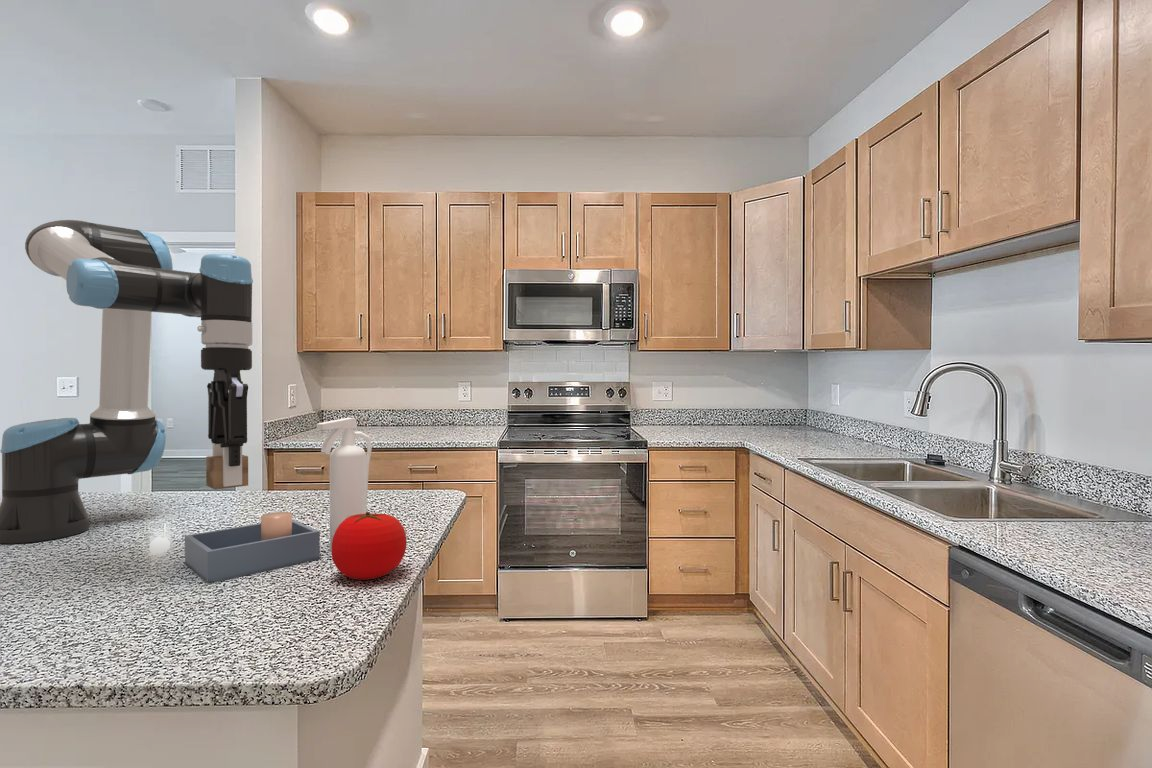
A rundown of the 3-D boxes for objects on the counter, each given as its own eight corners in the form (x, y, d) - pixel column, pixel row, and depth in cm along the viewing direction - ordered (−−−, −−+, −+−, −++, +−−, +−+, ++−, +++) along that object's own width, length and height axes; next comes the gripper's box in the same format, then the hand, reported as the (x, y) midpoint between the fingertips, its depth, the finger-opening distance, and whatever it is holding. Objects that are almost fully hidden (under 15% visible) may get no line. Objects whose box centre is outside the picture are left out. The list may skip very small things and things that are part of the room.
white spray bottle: (391, 542, 116) (386, 415, 116) (334, 559, 107) (327, 421, 106) (371, 537, 121) (366, 414, 120) (314, 553, 111) (308, 420, 110)
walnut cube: (206, 485, 101) (206, 456, 101) (238, 482, 105) (238, 453, 105) (215, 489, 98) (215, 459, 98) (248, 485, 101) (248, 456, 101)
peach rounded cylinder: (256, 553, 107) (256, 515, 107) (285, 547, 111) (285, 510, 111) (267, 559, 104) (266, 519, 104) (296, 553, 108) (296, 515, 107)
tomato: (322, 572, 99) (322, 510, 99) (391, 559, 106) (391, 501, 106) (343, 593, 90) (344, 524, 90) (417, 577, 97) (417, 514, 97)
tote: (184, 564, 103) (184, 535, 103) (289, 544, 116) (289, 518, 116) (207, 583, 94) (207, 551, 93) (319, 559, 106) (319, 531, 106)
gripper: (187, 347, 105) (187, 479, 105) (218, 344, 92) (218, 493, 92) (234, 349, 110) (234, 474, 110) (269, 346, 98) (269, 487, 98)
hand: (227, 482), depth 101 cm, fingers closed on walnut cube, 5 cm apart
